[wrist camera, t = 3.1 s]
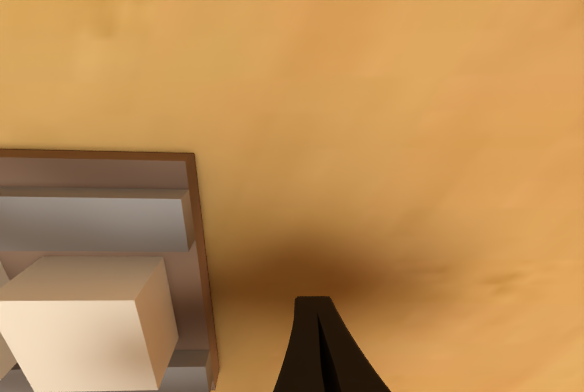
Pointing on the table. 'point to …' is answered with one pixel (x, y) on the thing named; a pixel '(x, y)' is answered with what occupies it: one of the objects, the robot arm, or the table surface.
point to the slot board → (115, 235)
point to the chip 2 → (90, 323)
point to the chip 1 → (3, 358)
